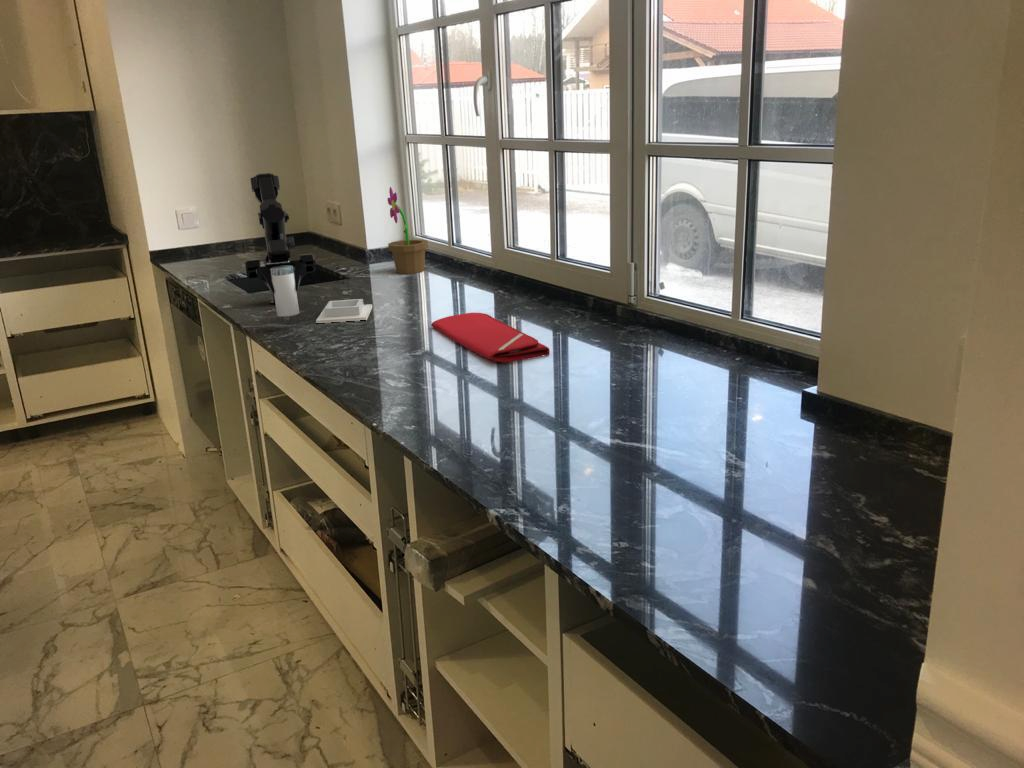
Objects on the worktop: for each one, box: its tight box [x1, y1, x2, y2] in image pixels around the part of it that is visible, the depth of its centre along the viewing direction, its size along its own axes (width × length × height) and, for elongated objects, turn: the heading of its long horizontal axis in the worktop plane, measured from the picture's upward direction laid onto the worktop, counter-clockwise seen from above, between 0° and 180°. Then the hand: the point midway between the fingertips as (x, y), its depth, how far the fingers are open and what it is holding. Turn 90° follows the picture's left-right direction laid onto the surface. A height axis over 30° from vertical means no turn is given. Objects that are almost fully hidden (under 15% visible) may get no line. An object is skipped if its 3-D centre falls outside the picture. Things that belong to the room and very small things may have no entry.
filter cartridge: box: [270, 265, 300, 317], centre depth 234 cm, size 6×6×13 cm
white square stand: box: [315, 298, 373, 324], centre depth 245 cm, size 16×14×4 cm
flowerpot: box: [387, 186, 429, 275], centre depth 300 cm, size 14×14×30 cm
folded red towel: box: [430, 312, 550, 364], centre depth 212 cm, size 16×41×4 cm, turn 24°
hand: (285, 291), depth 232 cm, fingers closed on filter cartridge, 6 cm apart
